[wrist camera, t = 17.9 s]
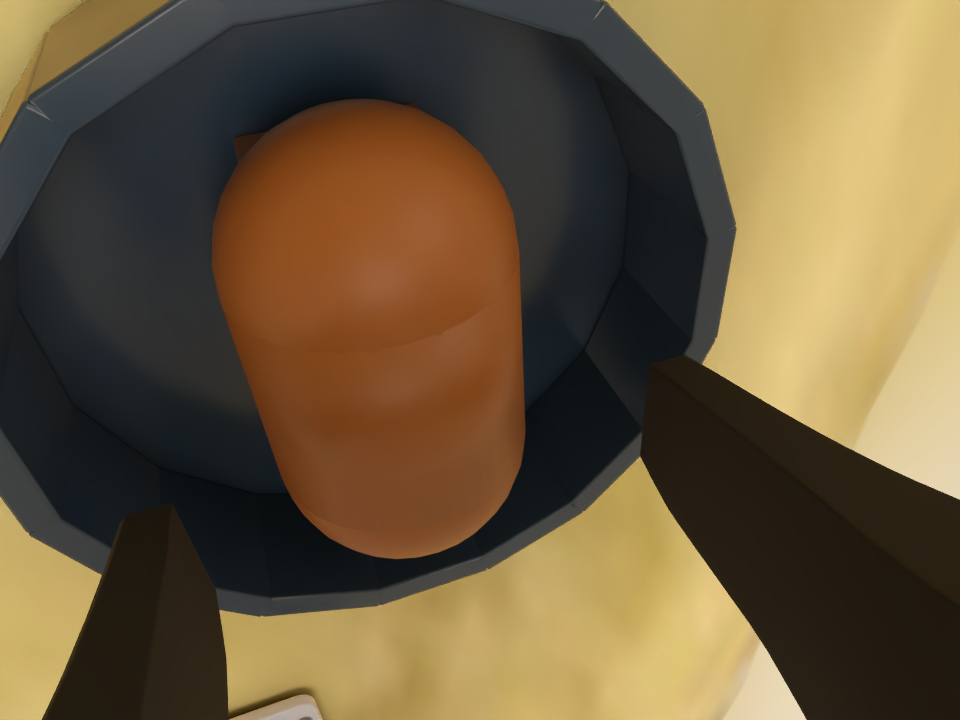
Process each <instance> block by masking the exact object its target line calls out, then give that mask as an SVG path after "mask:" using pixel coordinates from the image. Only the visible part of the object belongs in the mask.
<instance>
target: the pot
mask: <svg viewBox="0 0 960 720" xmlns="http://www.w3.org/2000/svg"><path fill="white" fill-rule="evenodd" d="M346 99H378V100H384V101H389V102H393V103H397V104H402V105H406V104H411V103H415V104H417V106H418V107H419V108H420V110H422V111H423V112H425V113H427V114H429V115H431V116H433V117H434V118H436V119H438V120H440V121H442V122H443V123H445V124H447V125H449V126H451V127H452V128H454V129H455V130H456V131H457V132H458V133H459V134H460V135H462V136H463V137H464V138H465V139H466V140H467V141H468V142H469V143H470V144H471V145H472V146H473V147H475V148H476V149H477V150H478V151H479V152H480V153H481V154H482V155H483V157H484V158H485V160H486V161H487V163H488V164H489V165H490V167H491V168H492V170H493V171H494V173H495V174H496V176H497V177H498V179H499V181H500V183H501V185H502V186H503V188H504V190H505V193H506V196H507V198H508V201H509V203H510V206H511V208H512V211H513V214H514V221H515V227H516V234H517V240H518V243H519V258H520V287H521V316H522V345H523V374H524V403H525V441H524V449H523V456H522V462H521V467H520V469H519V471H518V474H517V476H516V478H515V481H514V483H513V485H512V488H511V490H510V492H509V495H508V497H507V498H506V500H505V501H504V502H503V504H502V505H501V507H500V508H499V509H498V511H497V512H496V513H495V514H494V515H493V516H492V517H491V518H490V519H489V520H488V521H487V522H486V523H485V524H484V525H483V526H482V527H481V528H480V529H479V530H478V531H477V532H475V533H474V534H473V535H471V536H470V537H468V538H467V539H465V540H464V541H462V542H460V543H459V544H457V545H455V546H453V547H450V548H448V549H445V550H443V551H441V552H438V553H434V554H430V555H426V556H421V557H417V558H403V559H392V558H382V557H374V556H371V555H368V554H364V553H361V552H357V551H355V550H352V549H350V548H347V547H345V546H343V545H342V544H340V543H338V542H336V541H334V540H332V539H330V538H328V537H327V536H326V535H325V534H324V533H323V532H321V531H320V530H319V529H318V528H317V527H316V526H314V525H313V524H312V523H311V522H310V521H309V520H308V519H307V518H306V517H305V516H304V515H303V514H302V512H301V511H300V509H299V508H298V506H297V505H296V504H295V502H294V501H293V499H292V497H291V496H290V494H289V492H288V490H287V488H286V486H285V484H284V482H283V480H282V477H281V475H280V472H279V469H278V466H277V463H276V460H275V457H274V455H273V452H272V449H271V446H270V443H269V440H268V438H267V435H266V432H265V429H264V426H263V423H262V420H261V418H260V415H259V412H258V409H257V406H256V403H255V400H254V398H253V395H252V392H251V389H250V386H249V383H248V381H247V378H246V375H245V372H244V369H243V366H242V363H241V361H240V358H239V355H238V352H237V349H236V346H235V343H234V341H233V338H232V335H231V332H230V329H229V326H228V324H227V321H226V318H225V315H224V312H223V309H222V306H221V304H220V300H219V296H218V293H217V288H216V284H215V279H214V274H213V270H212V234H213V223H214V219H215V215H216V211H217V207H218V204H219V200H220V197H221V194H222V192H223V190H224V188H225V186H226V184H227V182H228V180H229V178H230V177H231V175H232V173H233V171H234V169H235V168H236V166H237V164H238V160H237V156H236V151H235V147H234V138H236V137H240V136H245V135H250V134H255V133H260V132H265V131H269V130H270V129H272V128H273V127H274V126H276V125H278V124H280V123H281V122H283V121H285V120H287V119H288V118H290V117H292V116H294V115H295V114H297V113H299V112H301V111H303V110H306V109H308V108H310V107H314V106H317V105H320V104H324V103H328V102H333V101H339V100H346ZM735 225H736V223H735V219H734V215H733V211H732V208H731V204H730V200H729V196H728V192H727V188H726V185H725V181H724V177H723V173H722V169H721V166H720V162H719V158H718V154H717V150H716V147H715V143H714V139H713V135H712V131H711V128H710V124H709V120H708V116H707V112H706V109H705V108H704V105H703V103H702V102H701V101H700V99H699V98H698V97H697V96H696V95H695V94H694V93H693V92H692V91H691V90H690V89H689V88H688V87H687V86H686V85H685V84H684V83H683V82H682V81H681V80H680V78H679V77H678V76H677V75H676V74H675V73H674V72H673V71H672V70H671V69H670V68H669V67H668V66H667V65H666V64H665V63H664V62H663V61H662V60H661V58H660V57H659V56H658V55H657V54H656V53H655V52H654V51H653V50H652V49H651V48H650V47H649V46H648V45H647V44H646V43H645V42H644V41H643V40H642V39H641V37H640V36H639V35H638V34H637V33H636V32H635V31H634V30H633V29H632V28H631V27H630V26H629V25H628V24H627V23H626V22H625V21H624V20H623V19H622V17H621V16H620V15H619V14H618V13H617V12H616V11H615V10H614V9H613V8H612V7H611V6H610V5H609V4H608V3H607V2H606V1H604V0H87V1H85V2H84V3H83V4H82V5H80V6H79V7H78V8H77V9H76V10H75V11H73V12H72V13H70V14H69V15H67V16H66V17H64V18H63V19H61V20H60V21H58V22H57V23H55V24H54V25H52V26H51V28H50V29H49V32H46V33H45V34H44V36H43V38H42V40H41V41H40V43H39V45H38V47H37V49H36V51H35V53H34V55H33V57H32V59H31V61H30V62H29V64H28V66H27V68H26V70H25V72H24V74H23V76H22V78H21V80H20V81H19V83H18V85H17V86H16V88H15V89H14V91H13V92H12V94H11V96H10V99H9V101H8V104H7V106H6V108H5V110H4V112H3V114H2V116H1V118H0V497H1V498H2V499H3V501H4V502H5V504H6V505H7V506H8V508H9V509H10V510H11V512H12V513H13V514H14V516H15V517H16V519H17V520H18V521H19V523H20V524H21V525H22V527H23V528H24V530H25V531H26V532H28V533H29V535H30V536H31V537H33V538H35V539H37V540H39V541H40V542H42V543H44V544H46V545H48V546H50V547H51V548H53V549H55V550H57V551H59V552H61V553H62V554H64V555H66V556H68V557H70V558H72V559H73V560H75V561H77V562H79V563H81V564H83V565H84V566H86V567H88V568H90V569H92V570H93V571H95V572H97V573H99V574H101V575H102V574H103V572H104V569H105V566H106V563H107V560H108V557H109V554H110V551H111V548H112V545H113V542H114V539H115V536H116V533H117V530H118V527H119V524H120V523H121V521H122V520H123V518H124V517H125V516H127V515H130V514H134V513H137V512H141V511H144V510H148V509H151V508H154V507H158V506H161V505H165V504H168V503H172V504H173V506H174V508H175V510H176V512H177V514H178V516H179V518H180V520H181V521H182V523H183V525H184V527H185V529H186V531H187V533H188V535H189V537H190V539H191V541H192V543H193V545H194V547H195V549H196V551H197V553H198V555H199V557H200V559H201V561H202V563H203V565H204V567H205V569H206V571H207V573H208V575H209V577H210V579H211V581H212V583H213V585H214V587H215V589H216V594H217V600H218V607H219V610H224V611H230V612H236V613H241V614H247V615H253V616H259V617H260V616H262V615H263V616H275V615H286V614H297V613H308V612H319V611H329V610H340V609H351V608H362V607H373V606H378V605H379V604H380V605H383V604H386V603H389V602H392V601H395V600H398V599H401V598H404V597H407V596H410V595H413V594H416V593H419V592H422V591H425V590H428V589H431V588H434V587H437V586H440V585H443V584H446V583H449V582H452V581H455V580H458V579H461V578H464V577H467V576H470V575H473V574H476V573H479V572H482V571H485V570H487V568H488V569H490V568H492V567H493V566H495V565H497V564H498V563H500V562H502V561H503V560H505V559H507V558H508V557H510V556H512V555H513V554H515V553H517V552H518V551H520V550H522V549H523V548H525V547H527V546H528V545H530V544H532V543H533V542H535V541H536V540H538V539H540V538H541V537H543V536H545V535H546V534H548V533H550V532H551V531H553V530H555V529H556V528H558V527H560V526H561V525H563V524H565V523H566V522H568V521H570V520H571V519H573V518H575V517H576V516H578V515H580V514H581V513H582V511H585V510H586V509H587V508H588V507H589V506H590V505H591V504H592V503H593V502H594V501H595V500H596V499H597V498H598V497H599V496H600V495H601V494H602V493H603V492H604V491H605V490H606V489H608V488H609V487H610V486H611V485H612V484H613V483H614V482H615V481H616V480H617V479H618V478H619V477H620V476H621V475H622V474H623V473H624V472H625V471H626V470H627V469H628V468H629V467H630V466H631V465H632V464H633V463H634V462H635V461H636V460H637V459H638V458H639V457H640V449H641V440H642V430H643V421H644V411H645V401H646V392H647V382H648V373H649V365H650V364H654V363H657V362H661V361H664V360H667V359H671V358H674V357H678V356H681V355H686V356H688V357H689V358H691V359H693V360H695V361H696V362H698V363H700V364H702V363H703V361H704V359H705V358H706V356H707V354H708V352H709V351H710V349H711V347H712V345H713V344H714V342H715V338H717V335H718V329H719V324H720V318H721V313H722V307H723V301H724V296H725V290H726V285H727V279H728V273H729V268H730V262H731V257H732V251H733V245H734V240H735V234H736V226H735Z"/></svg>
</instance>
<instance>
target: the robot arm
mask: <svg viewBox="0 0 960 720" xmlns="http://www.w3.org/2000/svg"><path fill="white" fill-rule="evenodd" d="M640 456H641V458H642V460H643V462H644V464H645V466H646V468H647V470H648V472H649V474H650V476H651V478H652V480H653V482H654V484H655V486H656V487H657V489H658V491H659V493H660V495H661V496H662V498H663V500H664V502H665V504H666V506H667V507H668V509H669V511H670V512H671V514H672V515H673V517H674V518H675V519H676V521H677V522H678V524H679V525H680V527H681V528H682V529H683V531H684V532H685V534H686V535H687V537H688V538H689V539H690V541H691V542H692V544H693V545H694V547H695V548H696V549H697V551H698V552H699V554H700V555H701V556H702V558H703V559H704V561H705V562H706V563H707V565H708V566H709V568H710V569H711V570H712V572H713V573H714V575H715V576H716V577H717V579H718V580H719V582H720V583H721V584H722V586H723V587H724V588H725V590H726V591H727V593H728V594H729V595H730V597H731V598H732V600H733V601H734V602H735V604H736V605H737V607H738V608H739V609H740V611H741V612H742V614H743V615H744V616H745V618H746V619H747V621H748V622H749V623H750V625H751V626H752V628H753V629H754V631H755V633H756V634H757V636H758V637H759V639H760V640H761V642H762V643H763V645H764V646H765V648H766V649H767V651H768V652H769V654H770V656H771V658H772V660H773V661H774V663H775V665H776V666H777V668H778V670H779V672H780V673H781V675H782V677H783V679H784V680H785V682H786V684H787V685H788V687H789V689H790V691H791V693H792V694H793V696H794V698H795V699H796V701H797V703H798V705H799V707H800V708H801V710H802V712H803V714H804V716H805V718H806V719H807V720H960V500H959V499H957V498H954V497H952V496H950V495H947V494H945V493H943V492H940V491H938V490H935V489H933V488H931V487H929V486H926V485H924V484H922V483H919V482H917V481H914V480H912V479H910V478H908V477H906V476H903V475H902V474H899V473H897V472H895V471H893V470H891V469H889V468H887V467H885V466H883V465H881V464H879V463H876V462H875V461H873V460H870V459H869V458H867V457H865V456H863V455H861V454H859V453H857V452H855V451H853V450H851V449H849V448H847V447H845V446H843V445H841V444H839V443H837V442H835V441H834V440H832V439H830V438H828V437H826V436H824V435H822V434H820V433H819V432H817V431H815V430H813V429H811V428H810V427H808V426H806V425H804V424H802V423H801V422H799V421H797V420H795V419H794V418H792V417H790V416H788V415H786V414H785V413H783V412H781V411H780V410H778V409H776V408H774V407H773V406H771V405H769V404H767V403H766V402H764V401H762V400H761V399H759V398H757V397H756V396H754V395H752V394H751V393H749V392H747V391H746V390H744V389H742V388H740V387H739V386H737V385H735V384H734V383H732V382H730V381H729V380H727V379H725V378H724V377H722V376H720V375H719V374H717V373H715V372H714V371H712V370H710V369H709V368H707V367H705V366H703V365H702V364H700V363H698V362H696V361H695V360H693V359H691V358H689V357H688V356H686V355H681V356H678V357H674V358H671V359H667V360H664V361H661V362H657V363H654V364H650V365H649V373H648V382H647V392H646V401H645V411H644V421H643V430H642V440H641V449H640ZM42 720H323V718H322V716H321V713H320V711H319V709H318V707H317V704H316V702H315V700H314V698H313V697H312V696H310V695H306V694H304V695H297V696H294V697H291V698H288V699H285V700H282V701H279V702H277V703H274V704H271V705H268V706H265V707H262V708H259V709H257V710H254V711H251V712H248V713H245V714H242V715H239V716H237V717H234V718H231V719H229V717H228V689H227V664H226V653H225V646H224V639H223V632H222V625H221V619H220V613H219V607H218V600H217V594H216V589H215V587H214V585H213V583H212V581H211V579H210V577H209V575H208V573H207V571H206V569H205V567H204V565H203V563H202V561H201V559H200V557H199V555H198V553H197V551H196V549H195V547H194V545H193V543H192V541H191V539H190V537H189V535H188V533H187V531H186V529H185V527H184V525H183V523H182V521H181V520H180V518H179V516H178V514H177V512H176V510H175V508H174V506H173V504H172V503H168V504H165V505H161V506H158V507H154V508H151V509H148V510H144V511H141V512H137V513H134V514H130V515H127V516H125V517H124V518H123V520H122V521H121V523H120V524H119V527H118V530H117V533H116V536H115V539H114V542H113V545H112V548H111V551H110V554H109V557H108V560H107V563H106V566H105V569H104V572H103V574H102V577H101V580H100V583H99V585H98V588H97V591H96V593H95V596H94V599H93V601H92V604H91V607H90V609H89V612H88V614H87V617H86V619H85V622H84V624H83V627H82V629H81V632H80V634H79V636H78V639H77V641H76V644H75V646H74V649H73V651H72V653H71V656H70V658H69V661H68V663H67V665H66V668H65V670H64V673H63V675H62V677H61V679H60V682H59V684H58V686H57V689H56V691H55V693H54V695H53V697H52V699H51V701H50V703H49V705H48V708H47V710H46V712H45V714H44V716H43V718H42Z"/></svg>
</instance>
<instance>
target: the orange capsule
mask: <svg viewBox="0 0 960 720" xmlns="http://www.w3.org/2000/svg"><path fill="white" fill-rule="evenodd" d="M234 147H235V151H236V156H237V160H238V164H237V166H236V168H235V169H234V171H233V173H232V175H231V177H230V178H229V180H228V182H227V184H226V186H225V188H224V190H223V192H222V194H221V197H220V200H219V204H218V207H217V211H216V215H215V219H214V223H213V234H212V270H213V274H214V279H215V284H216V288H217V293H218V296H219V300H220V304H221V306H222V309H223V312H224V315H225V318H226V321H227V324H228V326H229V329H230V332H231V335H232V338H233V341H234V343H235V346H236V349H237V352H238V355H239V358H240V361H241V363H242V366H243V369H244V372H245V375H246V378H247V381H248V383H249V386H250V389H251V392H252V395H253V398H254V400H255V403H256V406H257V409H258V412H259V415H260V418H261V420H262V423H263V426H264V429H265V432H266V435H267V438H268V440H269V443H270V446H271V449H272V452H273V455H274V457H275V460H276V463H277V466H278V469H279V472H280V475H281V477H282V480H283V482H284V484H285V486H286V488H287V490H288V492H289V494H290V496H291V497H292V499H293V501H294V502H295V504H296V505H297V506H298V508H299V509H300V511H301V512H302V514H303V515H304V516H305V517H306V518H307V519H308V520H309V521H310V522H311V523H312V524H313V525H314V526H316V527H317V528H318V529H319V530H320V531H321V532H323V533H324V534H325V535H326V536H327V537H328V538H330V539H332V540H334V541H336V542H338V543H340V544H342V545H343V546H345V547H347V548H350V549H352V550H355V551H357V552H361V553H364V554H368V555H371V556H374V557H382V558H392V559H403V558H417V557H421V556H426V555H430V554H434V553H438V552H441V551H443V550H445V549H448V548H450V547H453V546H455V545H457V544H459V543H460V542H462V541H464V540H465V539H467V538H468V537H470V536H471V535H473V534H474V533H475V532H477V531H478V530H479V529H480V528H481V527H482V526H483V525H484V524H485V523H486V522H487V521H488V520H489V519H490V518H491V517H492V516H493V515H494V514H495V513H496V512H497V511H498V509H499V508H500V507H501V505H502V504H503V502H504V501H505V500H506V498H507V497H508V495H509V492H510V490H511V488H512V485H513V483H514V481H515V478H516V476H517V474H518V471H519V469H520V467H521V462H522V456H523V449H524V441H525V403H524V374H523V345H522V316H521V287H520V258H519V243H518V240H517V234H516V227H515V221H514V214H513V211H512V208H511V206H510V203H509V201H508V198H507V196H506V193H505V190H504V188H503V186H502V185H501V183H500V181H499V179H498V177H497V176H496V174H495V173H494V171H493V170H492V168H491V167H490V165H489V164H488V163H487V161H486V160H485V158H484V157H483V155H482V154H481V153H480V152H479V151H478V150H477V149H476V148H475V147H473V146H472V145H471V144H470V143H469V142H468V141H467V140H466V139H465V138H464V137H463V136H462V135H460V134H459V133H458V132H457V131H456V130H455V129H454V128H452V127H451V126H449V125H447V124H445V123H443V122H442V121H440V120H438V119H436V118H434V117H433V116H431V115H429V114H427V113H425V112H423V111H422V110H420V108H419V107H418V106H417V104H415V103H411V104H406V105H402V104H397V103H393V102H389V101H384V100H378V99H346V100H339V101H333V102H328V103H324V104H320V105H317V106H314V107H310V108H308V109H306V110H303V111H301V112H299V113H297V114H295V115H294V116H292V117H290V118H288V119H287V120H285V121H283V122H281V123H280V124H278V125H276V126H274V127H273V128H272V129H270V130H269V131H265V132H260V133H255V134H250V135H245V136H240V137H236V138H234Z"/></svg>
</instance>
